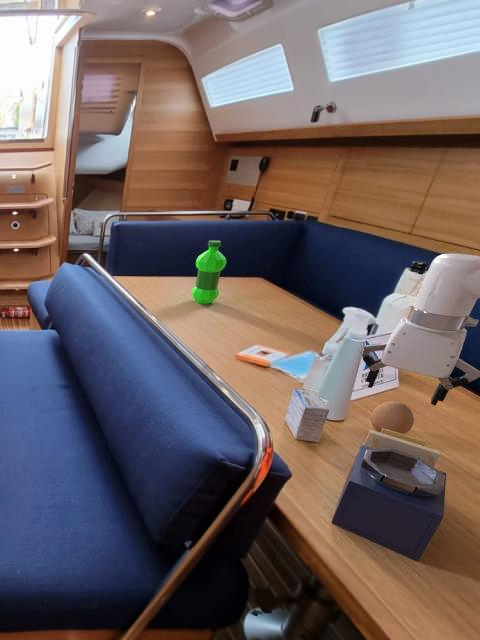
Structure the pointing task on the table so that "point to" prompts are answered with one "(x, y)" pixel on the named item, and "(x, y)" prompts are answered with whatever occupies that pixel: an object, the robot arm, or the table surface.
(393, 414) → the egg
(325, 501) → the table surface
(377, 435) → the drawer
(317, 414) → the medicine box
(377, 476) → the dark gray octagonal tray
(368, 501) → the navy box with tray
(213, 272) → the plastic bottle
